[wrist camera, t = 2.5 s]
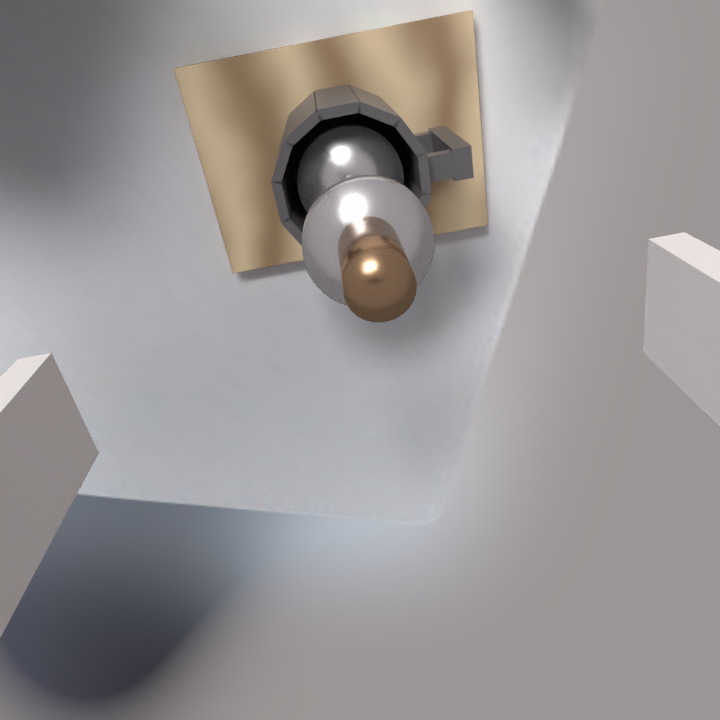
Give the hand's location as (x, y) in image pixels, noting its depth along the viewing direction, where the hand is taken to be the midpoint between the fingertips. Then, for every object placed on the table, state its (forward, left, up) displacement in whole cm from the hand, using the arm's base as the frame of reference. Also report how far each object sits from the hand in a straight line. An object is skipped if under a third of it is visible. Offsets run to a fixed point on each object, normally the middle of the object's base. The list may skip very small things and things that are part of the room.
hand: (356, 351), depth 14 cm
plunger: (+1, -3, -28) cm, 29 cm away
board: (+1, -3, -39) cm, 39 cm away
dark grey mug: (+3, -3, -38) cm, 38 cm away
